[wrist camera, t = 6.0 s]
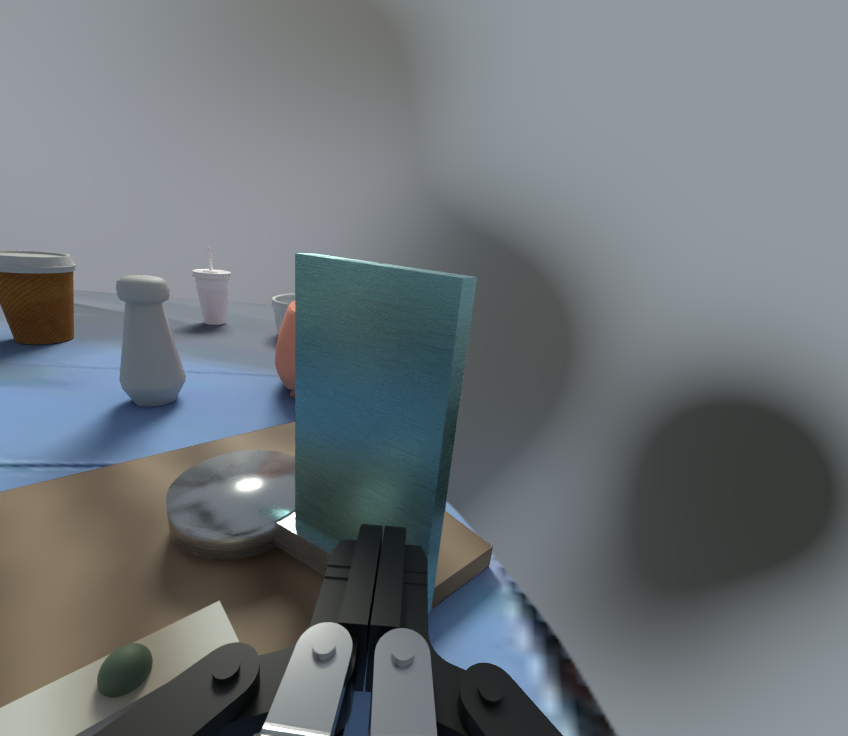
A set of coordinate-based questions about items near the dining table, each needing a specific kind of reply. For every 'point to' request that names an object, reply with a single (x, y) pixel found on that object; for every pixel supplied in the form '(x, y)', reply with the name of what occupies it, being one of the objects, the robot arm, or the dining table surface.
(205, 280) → the smoothie
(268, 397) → the dining table surface
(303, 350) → the teal flat rectangular slab
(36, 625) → the wooden cutting board
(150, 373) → the salt shaker
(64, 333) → the disposable coffee cup
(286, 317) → the teapot
